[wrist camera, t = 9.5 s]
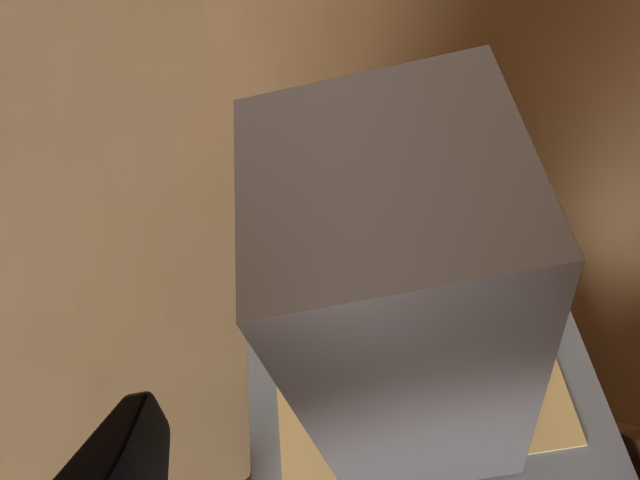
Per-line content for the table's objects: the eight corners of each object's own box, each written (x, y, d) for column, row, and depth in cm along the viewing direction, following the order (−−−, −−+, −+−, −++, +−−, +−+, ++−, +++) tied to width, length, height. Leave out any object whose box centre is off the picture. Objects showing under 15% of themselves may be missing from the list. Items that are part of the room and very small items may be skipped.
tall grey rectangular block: (522, 472, 17) (584, 260, 8) (349, 498, 17) (235, 323, 9) (477, 319, 20) (489, 44, 11) (331, 345, 20) (233, 100, 12)
